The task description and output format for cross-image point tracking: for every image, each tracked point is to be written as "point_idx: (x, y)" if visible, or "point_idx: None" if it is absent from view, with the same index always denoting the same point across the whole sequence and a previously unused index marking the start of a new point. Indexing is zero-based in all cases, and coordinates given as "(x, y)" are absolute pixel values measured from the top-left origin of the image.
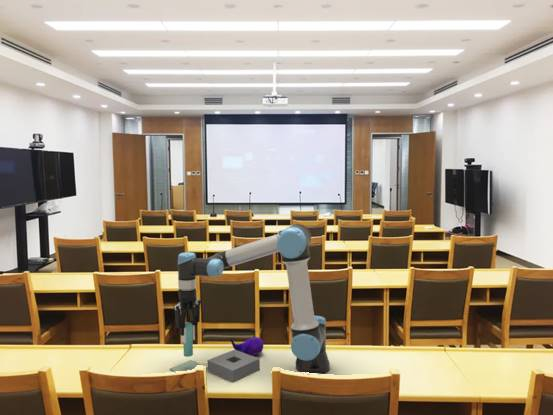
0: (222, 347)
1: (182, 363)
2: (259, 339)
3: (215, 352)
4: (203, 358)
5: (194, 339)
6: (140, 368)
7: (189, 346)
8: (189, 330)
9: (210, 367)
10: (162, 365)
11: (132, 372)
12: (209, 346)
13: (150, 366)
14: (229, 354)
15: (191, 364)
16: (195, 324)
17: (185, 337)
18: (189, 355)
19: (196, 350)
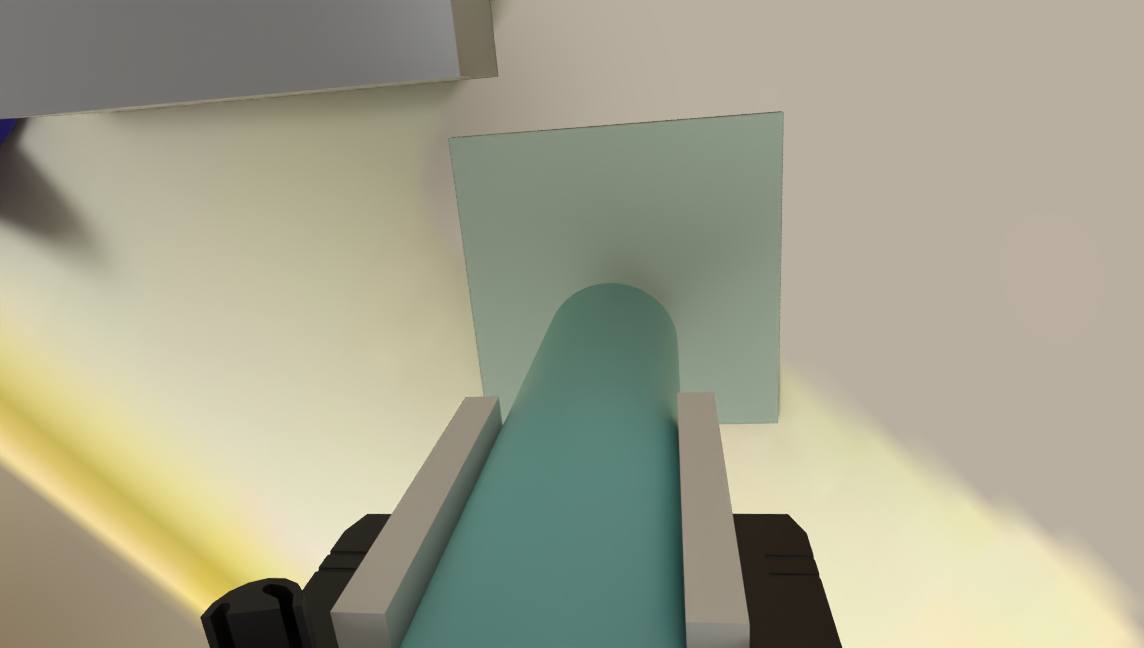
0: (88, 459)
1: None
2: None
3: (196, 416)
4: (361, 388)
5: (471, 402)
6: (950, 629)
7: (622, 340)
8: (581, 522)
9: (476, 14)
10: None
11: (1065, 614)
12: (183, 559)
13: (855, 600)
14: (118, 17)
15: None
16: (296, 608)
17: (705, 452)
18: (632, 291)
19: None
